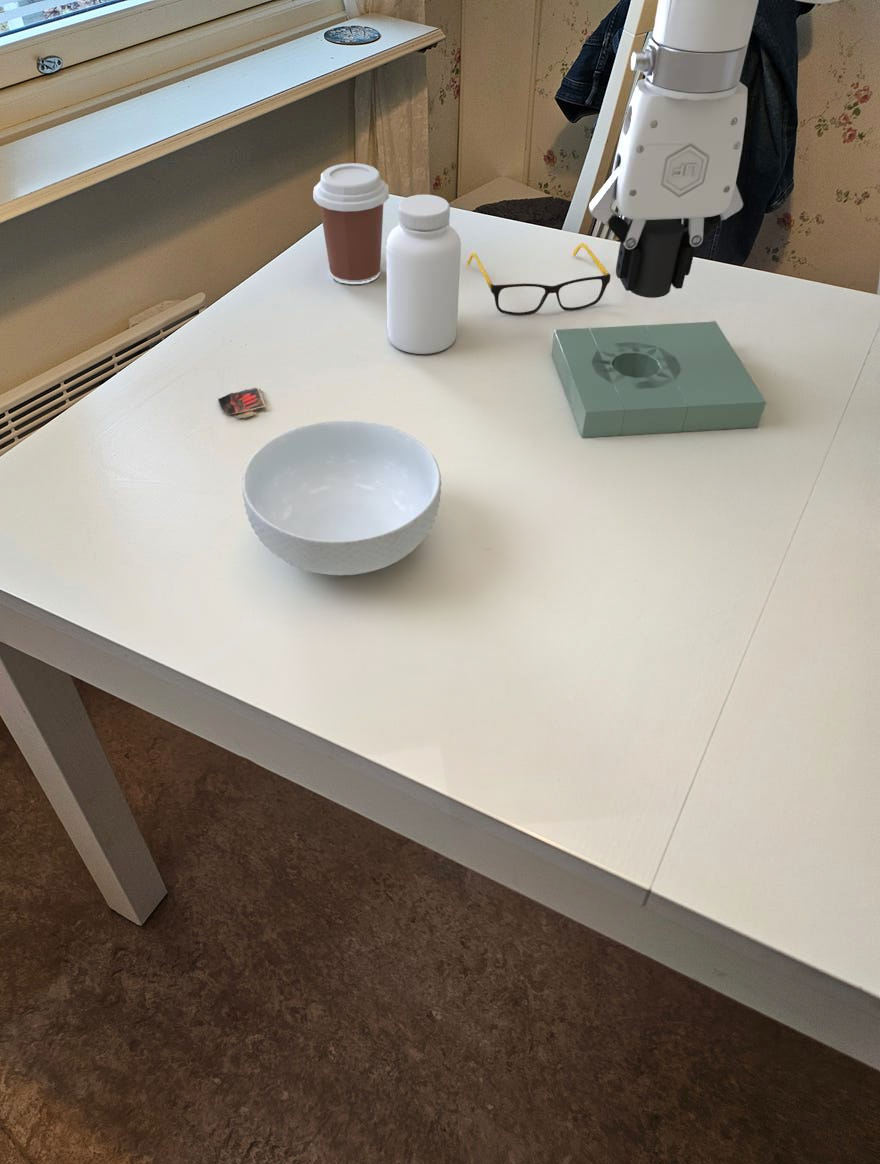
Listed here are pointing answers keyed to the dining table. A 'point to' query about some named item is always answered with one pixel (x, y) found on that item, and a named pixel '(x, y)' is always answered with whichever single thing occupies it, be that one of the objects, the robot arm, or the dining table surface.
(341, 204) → the coffee cup
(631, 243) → the robot arm
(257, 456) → the cereal bowl
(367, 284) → the dining table surface
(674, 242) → the stopper
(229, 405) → the matchbox
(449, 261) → the pill bottle
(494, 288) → the eyeglasses
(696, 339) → the plate
